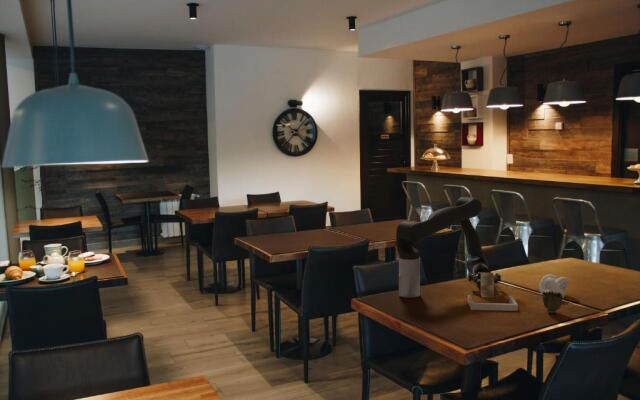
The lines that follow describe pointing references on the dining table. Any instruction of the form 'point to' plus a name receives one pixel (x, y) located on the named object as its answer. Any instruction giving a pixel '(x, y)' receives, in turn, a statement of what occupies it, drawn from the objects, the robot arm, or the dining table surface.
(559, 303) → the cup
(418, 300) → the dining table surface
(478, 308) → the tray
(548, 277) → the white lumpy cloud shape
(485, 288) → the maple block
